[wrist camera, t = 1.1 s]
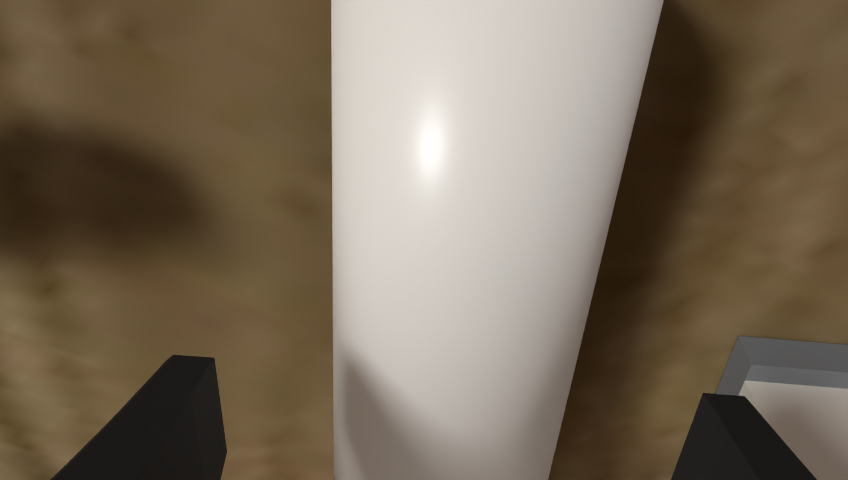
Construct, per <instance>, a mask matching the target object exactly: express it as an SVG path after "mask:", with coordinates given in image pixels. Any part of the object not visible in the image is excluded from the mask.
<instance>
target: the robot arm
mask: <svg viewBox="0 0 848 480" xmlns="http://www.w3.org/2000/svg"><path fill="white" fill-rule="evenodd" d="M226 454H227V449H226V441H225V434H224V426H223V419H222V411H221V404H220V396H219V389H218V382H217V374H216V367H215V359H214V358H210V357H196V356H182V355H173V356H171V357H170V358H169V359H168V360H166V361H165V363H164V364H163V365H162V366H161V367H160V368H159V369H158V370H157V371H156V372H155V373H154V374H153V375H152V377H151V378H150V379H149V380H148V381H147V382H146V383H145V384H144V385H143V386H142V387H141V388H140V390H139V391H138V392H137V393H136V394H135V395H134V396H133V397H132V398H131V399H130V400H129V401H128V402H127V403H126V405H125V406H124V407H123V408H122V409H121V410H120V411H119V412H118V413H117V414H116V415H115V416H114V417H113V418H112V419H111V420H110V421H109V422H108V423H107V424H106V425H105V426H104V427H103V428H102V429H101V430H100V431H99V432H98V433H97V434H96V435H95V436H94V437H93V438H92V439H91V440H90V441H89V442H88V443H87V444H86V445H85V446H84V447H83V448H82V449H81V450H80V451H79V452H78V453H77V454H76V455H75V456H74V457H73V458H72V459H71V460H70V461H69V462H68V463H67V464H66V465H65V466H64V467H63V468H62V469H61V470H60V471H59V472H58V473H57V474H56V475H55V476H54V477H53V478H52V479H51V480H220V479H221V475H222V471H223V466H224V462H225V458H226ZM671 480H817V479H816V478H815V477H814V476H813V474H812V473H811V472H810V471H809V470H808V469H807V467H806V466H805V465H804V464H803V463H802V462H801V461H800V459H799V458H798V457H797V456H796V455H795V454H794V452H793V451H792V450H791V449H790V448H789V447H788V446H787V444H786V443H785V442H784V441H783V440H782V439H781V437H780V436H779V435H778V434H777V433H776V432H775V430H774V429H773V428H772V427H771V426H770V424H769V423H768V422H767V421H766V420H765V419H764V418H763V416H762V415H761V414H760V413H759V412H758V411H757V409H756V408H755V407H754V406H753V405H752V404H751V403H750V401H749V400H748V399H747V398H746V397H745V396H737V395H723V394H709V393H703V395H702V397H701V400H700V403H699V405H698V408H697V411H696V414H695V416H694V419H693V422H692V424H691V427H690V430H689V433H688V435H687V438H686V441H685V443H684V446H683V449H682V452H681V454H680V457H679V460H678V462H677V465H676V468H675V471H674V473H673V476H672V479H671Z"/></svg>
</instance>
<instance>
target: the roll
mask: <svg viewBox="0 0 848 480" xmlns="http://www.w3.org/2000/svg"><path fill="white" fill-rule="evenodd" d="M663 1H664V0H331V28H332V231H333V434H334V480H548V478H549V474H550V470H551V465H552V461H553V457H554V453H555V449H556V445H557V441H558V436H559V432H560V428H561V424H562V420H563V416H564V412H565V407H566V403H567V399H568V395H569V391H570V387H571V383H572V378H573V374H574V370H575V366H576V362H577V358H578V354H579V349H580V345H581V341H582V337H583V333H584V329H585V325H586V320H587V316H588V312H589V308H590V304H591V300H592V296H593V291H594V287H595V283H596V279H597V275H598V271H599V267H600V262H601V258H602V254H603V250H604V246H605V242H606V237H607V233H608V229H609V225H610V221H611V217H612V213H613V208H614V204H615V200H616V196H617V192H618V188H619V184H620V179H621V175H622V171H623V167H624V163H625V159H626V155H627V150H628V146H629V142H630V138H631V134H632V130H633V126H634V121H635V117H636V113H637V109H638V105H639V101H640V97H641V92H642V88H643V84H644V80H645V76H646V72H647V68H648V63H649V59H650V55H651V51H652V47H653V43H654V39H655V34H656V30H657V26H658V22H659V18H660V14H661V10H662V5H663Z"/></svg>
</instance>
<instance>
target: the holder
mask: <svg viewBox="0 0 848 480" xmlns="http://www.w3.org/2000/svg"><path fill="white" fill-rule="evenodd" d="M716 394H723V395H737V396H745V397H746V398H747V399H748V400H749V401H750V403H751V404H752V405H753V406H754V407H755V408H756V409H757V411H758V412H759V413H760V414H761V415H762V416H763V418H764V419H765V420H766V421H767V422H768V423H769V424H770V426H771V427H772V428H773V429H774V430H775V432H776V433H777V434H778V435H779V436H780V437H781V439H782V440H783V441H784V442H785V443H786V444H787V446H788V447H789V448H790V449H791V450H792V451H793V452H794V454H795V455H796V456H797V457H798V458H799V459H800V461H801V462H802V463H803V464H804V465H805V466H806V467H807V469H808V470H809V471H810V472H811V473H812V474H813V476H814V477H815V478H816V479H817V480H848V345H844V344H831V343H819V342H807V341H794V340H782V339H769V338H757V337H745V336H738V338H737V341H736V343H735V346H734V348H733V351H732V353H731V356H730V359H729V361H728V364H727V366H726V369H725V371H724V374H723V376H722V379H721V381H720V384H719V386H718V389H717V391H716Z"/></svg>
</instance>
